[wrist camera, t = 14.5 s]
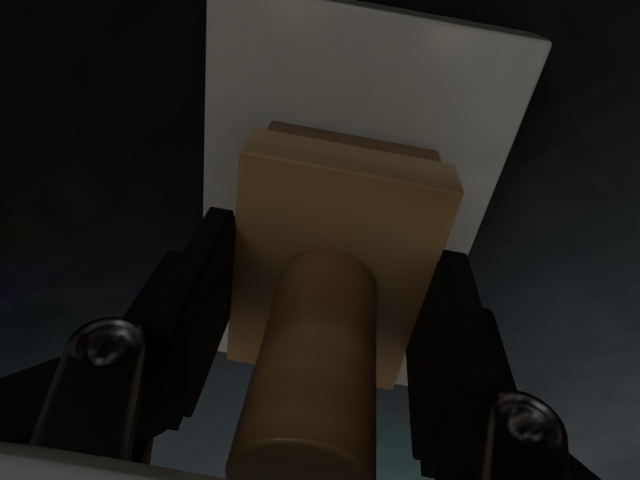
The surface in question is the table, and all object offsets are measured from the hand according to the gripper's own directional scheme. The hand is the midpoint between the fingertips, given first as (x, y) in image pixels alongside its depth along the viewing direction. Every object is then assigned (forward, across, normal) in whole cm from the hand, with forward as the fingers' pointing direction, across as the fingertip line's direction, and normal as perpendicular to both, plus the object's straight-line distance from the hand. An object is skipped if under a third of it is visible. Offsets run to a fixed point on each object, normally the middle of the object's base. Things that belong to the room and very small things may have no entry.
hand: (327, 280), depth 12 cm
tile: (+3, 0, 0) cm, 3 cm away
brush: (+2, 0, 0) cm, 2 cm away
